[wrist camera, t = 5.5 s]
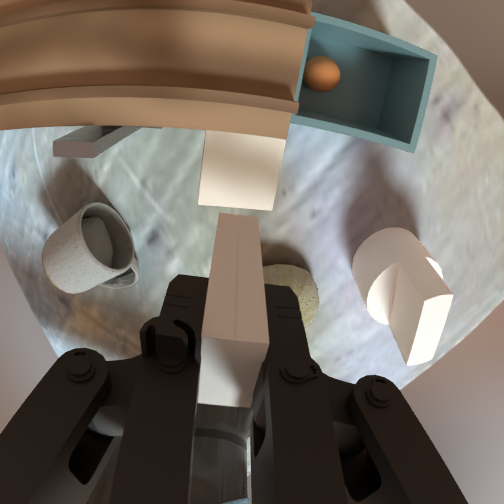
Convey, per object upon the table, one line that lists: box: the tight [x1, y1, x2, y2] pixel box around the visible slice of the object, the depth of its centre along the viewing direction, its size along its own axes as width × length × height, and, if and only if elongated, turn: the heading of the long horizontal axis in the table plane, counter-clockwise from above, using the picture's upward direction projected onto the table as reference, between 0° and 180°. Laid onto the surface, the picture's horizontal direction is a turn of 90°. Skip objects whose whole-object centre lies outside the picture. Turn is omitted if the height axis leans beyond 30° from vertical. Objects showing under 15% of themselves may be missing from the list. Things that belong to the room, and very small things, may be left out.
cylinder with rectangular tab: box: [352, 227, 453, 366], centre depth 31 cm, size 9×9×12 cm
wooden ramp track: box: [0, 0, 316, 211], centre depth 15 cm, size 15×26×3 cm, turn 81°
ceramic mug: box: [42, 202, 139, 294], centre depth 31 cm, size 11×8×8 cm
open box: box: [290, 12, 437, 153], centre depth 22 cm, size 8×10×8 cm
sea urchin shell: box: [263, 264, 320, 328], centre depth 36 cm, size 9×8×8 cm
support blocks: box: [53, 125, 163, 158], centre depth 19 cm, size 14×24×12 cm, turn 81°
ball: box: [303, 56, 340, 92], centre depth 23 cm, size 3×3×3 cm
